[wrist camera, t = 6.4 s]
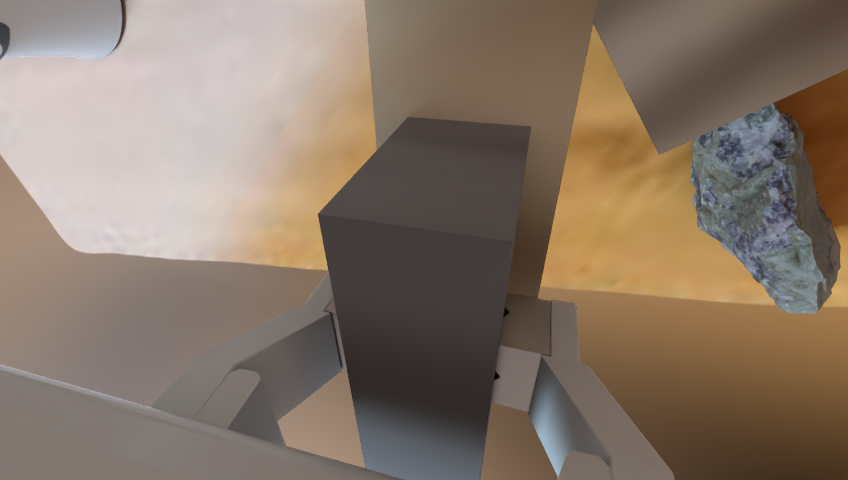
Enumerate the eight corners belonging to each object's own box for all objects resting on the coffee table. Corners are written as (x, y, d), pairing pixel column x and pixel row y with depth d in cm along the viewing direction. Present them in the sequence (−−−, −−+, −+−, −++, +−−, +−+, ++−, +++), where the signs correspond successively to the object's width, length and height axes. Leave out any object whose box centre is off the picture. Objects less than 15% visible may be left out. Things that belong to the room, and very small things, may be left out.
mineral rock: (704, 77, 27) (757, 127, 19) (905, 84, 25) (1061, 145, 17) (649, 236, 35) (672, 319, 27) (799, 255, 32) (874, 354, 24)
